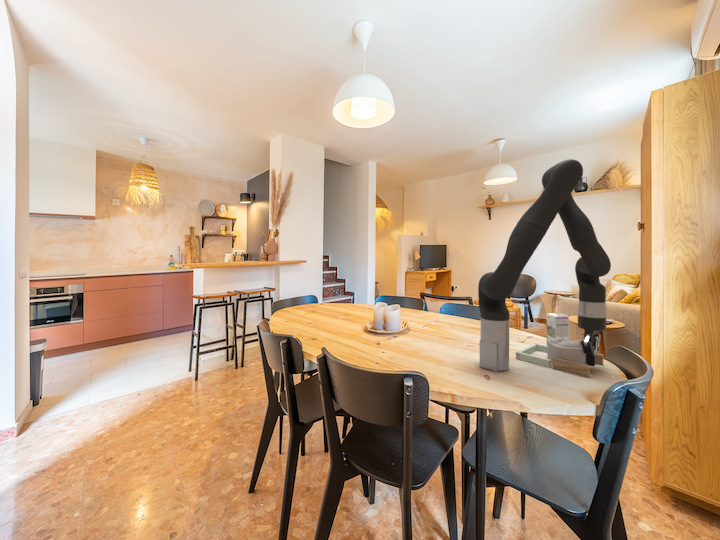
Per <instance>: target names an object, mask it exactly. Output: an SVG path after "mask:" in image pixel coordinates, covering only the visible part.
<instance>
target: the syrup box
mask: <svg viewBox="0 0 720 540" xmlns="http://www.w3.org/2000/svg"><path fill="white" fill-rule="evenodd" d="M569 329H570V315H567V314H564V313H561V312H560V313H559V312H549V313H546V346H548V340H549V339H552V338H555V337H560V338H564V337H568V338H570V336H569V334H570V331H569Z"/></svg>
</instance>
